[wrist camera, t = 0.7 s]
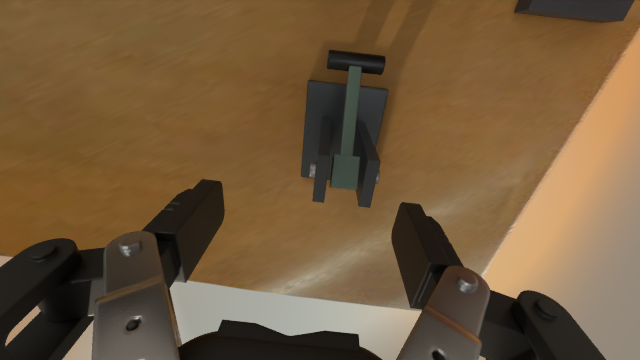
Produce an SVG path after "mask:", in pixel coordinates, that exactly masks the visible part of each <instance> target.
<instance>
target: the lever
mask: <svg viewBox="0 0 640 360" xmlns="http://www.w3.org/2000/svg"><path fill="white" fill-rule="evenodd" d="M384 67H385V56H380V55H372V54H363V53H354V52H345V51H336V50H329V54H328V63H327V69H334V70H343V71H348V78H347V87H346V97H345V106H344V116H343V125H342V135H341V144H340V153H339V155H338V154H334V156H333V158H332V167H331V177H330V186H329V187H330V188H340V189H349V190H357V183H358V173H359V163H360V157H356V156H353V147H354V138H355V128H356V119H357V109H358V99H359V90H360V80H361V73H369V74H378V75H382V73H383V71H384Z"/></svg>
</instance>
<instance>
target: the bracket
mask: <svg viewBox="0 0 640 360" xmlns="http://www.w3.org/2000/svg"><path fill="white" fill-rule="evenodd" d="M346 87H347V84H340V83H331V82H322V81H313V80H309V81H308V88H307V101H306V115H305V128H304V142H303V155H302V169H301V177H308V178H315V181H314V191H313V202H322V203H324V198H325V190H326V183H327V180H330V177H331V167H332V158H333V156H334V154H338V155H339V153H340V144H341V135H342V125H343V116H344V106H345V97H346ZM387 94H388V90H387V89H384V88H375V87H367V86H360V90H359V99H358V109H357V119H356V128H355V138H354V147H353V156H356V157H360V163H359V173H358V183H357V190H356V193H357V200H358V206H359V207H368V208H370V205H371V201H372V196H373V192H374V187H375V184H377V183H378V181H379V175H380V172H379V166H380V159H379V157H378V155H377V152H376V145H377V140H378V136H379V131H380V126H381V122H382V117H383V113H384V108H385V103H386V99H387Z"/></svg>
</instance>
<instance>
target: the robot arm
mask: <svg viewBox="0 0 640 360" xmlns="http://www.w3.org/2000/svg"><path fill="white" fill-rule="evenodd" d="M224 211H225V210H224V199H223V188H222V183H221V182H220V181H214V180H205V179H202V180H201V181H200V182H199V183H198V184H197V185H196V186H195V187H194V188H193V189H188V190H186V191H184V192H182V193H180V194H178V195H177V196H176V197H175V198H174V199H173V200H172V201H171V202H170V204H168V205H167V206H166V207H165V208H164V210H162V211H161V212H160V213H159V214H158V215H157V216H156V217H155V218H154V219H153V220H152V221H151V222H150V223H149V224H148V225H147V226H146V227H145V228H144V229H143V230H142V231H135V232H130V233H126V234H124V235H121V236H119V237H117V238H115V239H114V240H112V241H111V242H110V243H109V244H108V245H107V246H106V247H105V248H97V249H88V250H78V248H77V246H76V244H75V242H74V241H72V240H70V239H65V238H59V239H51V240H47V241H43V242H40V243H38V244H35V245H33V246H31V247H29V248H27V249H25V250H23V251H22V252H20V253H19V254H18V255H16V256H15V257H13V258H12V259H11V260H10V261H8V262H7V263H5V264H4V265H2V266H1V267H0V360H62V359H63V357H64V356H65V355H66V354H67V353H68V351H69V350H70V349H71V348H72V346H73V345H74V344H75V342H76V341H77V340H78V339H79V337H80V336H81V335H82V333H83V332H84V331H85V330H86V328H87V327H88V326H89V325H90V323H91V322H92V321H93V320H94V323H93V343H92V360H382V359H381V358H379V357H378V356H377V355H375V354H374V353H372V352H370V351H369V350H367V349H365V348H362V347H360V346H359V336H358V334H350V333H341V332H332V331H320V332H314V333H308V334H302V335H295V336H287V335H284V334H281V333H279V332H276V331H274V330H272V329H269V328H266V327H264V326H261V325H259V324H256V323H248V322H239V321H230V320H222V322H221V325H220V327H219V329H218V331H216V332H211V333H207V334H204V335H201V336H199V337H196V338H194V339H192V340H190V341H188V342H186V343H185V344H183V345H182V342H181V339H180V334H179V330H178V325H177V321H176V316H175V312H174V307H173V302H172V298H171V293H170V289H169V288H170V287H171V285H172V284H173V282H174V281H175V282H185V283H186V282H187V280H188V278H189V277H190V275H191V274H192V272H193V270H194V269H195V267H196V265H197V264H198V262H199V260H200V259H201V257H202V255H203V254H204V252H205V250H206V249H207V247H208V245H209V244H210V242H211V240H212V239H213V237H214V236H215V234H216V232H217V231H218V229H219V227H220V226H221V224H222V222H223V219H224ZM392 245H393V248H394V252H395V255H396V259H397V262H398V266H399V269H400V273H401V276H402V280H403V283H404V287H405V290H406V294H407V297H408V301H409V304H410V308H415V309H422V312H421V314H420V316H419V318H418V320H417V322H416V323H415V326H414V327H413V329H412V331H411V333H410V335H409V337H408V338H407V340H406V342H405V344H404V346H403V348H402V349H401V351H400V353H399V355H398V357H397V359H396V360H478V358H479V355H480V356H482V357H485V358H486V360H606V359H605V358H604V357H603V355H602V354H601V353H600V352H599V350H598V349H597V348H596V346H595V345H594V344H593V343H592V342H591V340H590V339H589V338H588V336H587V335H586V334H585V333H584V331H583V330H582V329H581V328H580V326H579V325H578V324H577V323H576V321H575V320H574V319H573V318H572V316H571V315H570V314H569V313H568V312H567V311H566V310H565V309H564V308H563V307H562V306H561V305H560V304H559V303H557V302H556V301H554V300H553V299H551V298H550V297H548V296H546V295H544V294H541V293H538V292H535V291H529V290H527V291H523V292H521V293H520V294H519V296H518V297H517V299H514V298H512V297H509V296H506V295H503V294H500V293H498V292H495V291H492V290H490V288H489V286H488V284H487V283H486V282H485V280H484V279H483V278H482V277H481V276H479V275H478V274H477V273H475V272H474V271H472V270H470V269H468V268H465V267H464V266H463V264H462V263H461V261H460V259H459V257H458V256H457V254H456V252H455V250H454V249H453V247H452V245H451V243H450V242H449V240H448V238H447V236H446V235H445V233H444V231H443V229H442V228H441V226H440V224H439V223H437V222H436V221H435V220H434V219H433V218H432V217H430V216H426V215H425V213H424V211H423V209H422V207H421V205H420V204H414V203H405V202H402V203H401V204H400V206H399V210H398V213H397V216H396V219H395V223H394V226H393V229H392ZM36 306H38V307H39V309H40V310H41V312H40V313H39V314H38V315H37V316H36V317H35V318H34V319H33V320H32V321H31V322H30V323H29V324H28V325H27V326H26V327H25V328H24V329H23V330H22V331H21V332H20V333H19V334H18V335H17V336H16V337H15V338H14V339H13V340H12V341H11V342H10V343H9V344H8V345H7V346H6V347H5V343H6V339H7V337H8V335H9V333H10V332H11V330H12V329H13V328H14V327H15V326H16V325H17V324H18V323H19V322H20V321H21V320H22V319H23V318H24V317H25V316H26V315H27V314H28V313H29V312H30V311H31V310H33V309H34V308H35V307H36Z"/></svg>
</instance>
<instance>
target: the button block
mask: <svg viewBox="0 0 640 360" xmlns="http://www.w3.org/2000/svg"><path fill="white" fill-rule="evenodd" d="M633 2H634V0H519V1H518V4H517V6H516V9H515V13H523V14H532V15H540V16H549V17H557V18H566V19H575V20H583V21H592V22H601V23H604V22H616V21H623V20H624V18H625V17H626V15H627V13H628V11H629V9H630V8H631V6H632V4H633Z"/></svg>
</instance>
